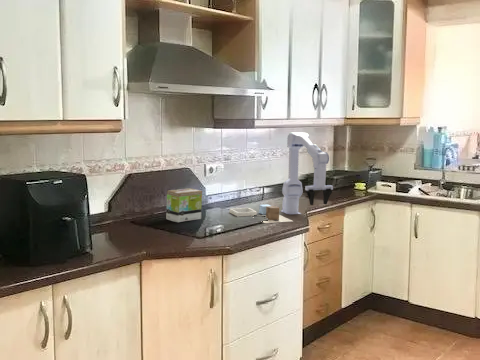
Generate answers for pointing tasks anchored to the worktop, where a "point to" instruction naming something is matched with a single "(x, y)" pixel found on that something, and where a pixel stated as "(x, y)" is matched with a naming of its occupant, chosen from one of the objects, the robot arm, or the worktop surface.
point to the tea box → (183, 205)
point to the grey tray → (243, 212)
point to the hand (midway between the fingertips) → (318, 204)
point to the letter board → (281, 219)
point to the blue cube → (263, 209)
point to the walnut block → (272, 212)
